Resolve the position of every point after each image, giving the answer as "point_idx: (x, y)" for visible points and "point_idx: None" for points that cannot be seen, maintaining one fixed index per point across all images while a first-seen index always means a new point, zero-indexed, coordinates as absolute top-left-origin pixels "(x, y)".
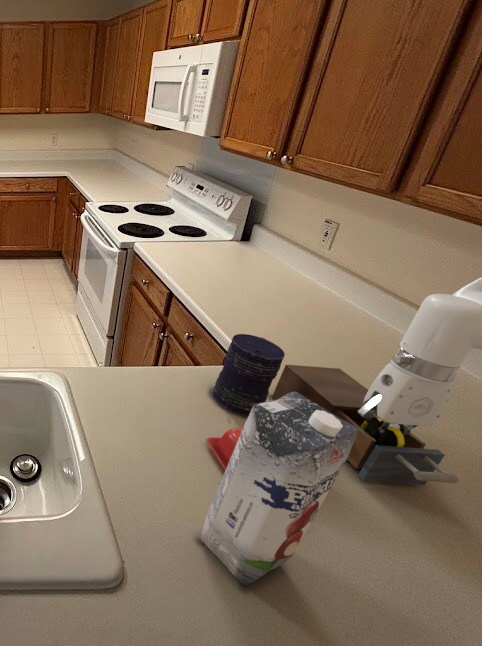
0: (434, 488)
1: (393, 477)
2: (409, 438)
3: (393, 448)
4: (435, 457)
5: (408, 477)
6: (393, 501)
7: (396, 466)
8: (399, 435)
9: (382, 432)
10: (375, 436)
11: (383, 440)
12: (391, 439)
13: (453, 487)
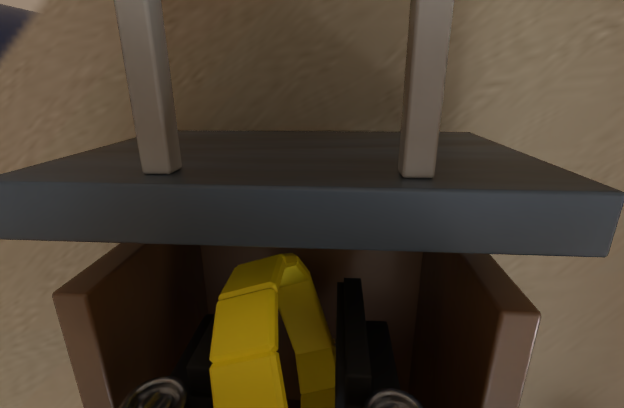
0: (112, 134)
1: (331, 136)
2: (121, 349)
3: (452, 224)
4: (71, 173)
5: (249, 137)
6: (387, 39)
7: (355, 150)
8: (254, 367)
9: (379, 394)
10: (380, 360)
11: (347, 328)
12: None
13: (21, 146)
